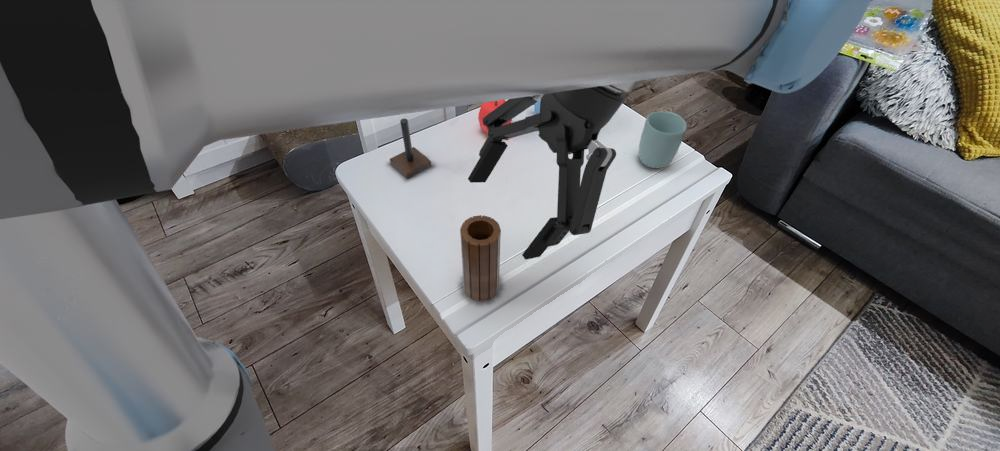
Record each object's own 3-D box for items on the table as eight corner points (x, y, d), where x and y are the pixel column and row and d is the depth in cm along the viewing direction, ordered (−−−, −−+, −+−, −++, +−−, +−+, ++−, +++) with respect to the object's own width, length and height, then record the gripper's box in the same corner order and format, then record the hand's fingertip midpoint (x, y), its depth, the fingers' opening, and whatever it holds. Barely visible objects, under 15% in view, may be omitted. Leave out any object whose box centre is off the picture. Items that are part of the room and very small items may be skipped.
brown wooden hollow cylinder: (479, 307, 72) (478, 251, 61) (457, 285, 74) (452, 228, 64) (505, 288, 74) (508, 231, 64) (483, 267, 77) (482, 209, 67)
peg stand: (407, 179, 91) (399, 134, 83) (390, 164, 94) (381, 119, 86) (431, 166, 94) (426, 121, 86) (414, 152, 97) (408, 107, 89)
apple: (519, 127, 104) (521, 96, 98) (501, 145, 99) (502, 113, 93) (490, 115, 107) (490, 85, 101) (470, 132, 102) (470, 101, 96)
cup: (675, 174, 94) (691, 134, 87) (638, 173, 94) (651, 133, 87) (666, 150, 99) (681, 111, 92) (631, 149, 99) (643, 110, 92)
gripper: (699, 154, 44) (576, 286, 56) (553, 20, 56) (476, 154, 67) (663, 151, 39) (536, 298, 51) (510, 4, 50) (435, 152, 62)
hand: (502, 216), depth 59 cm, fingers open, 13 cm apart
